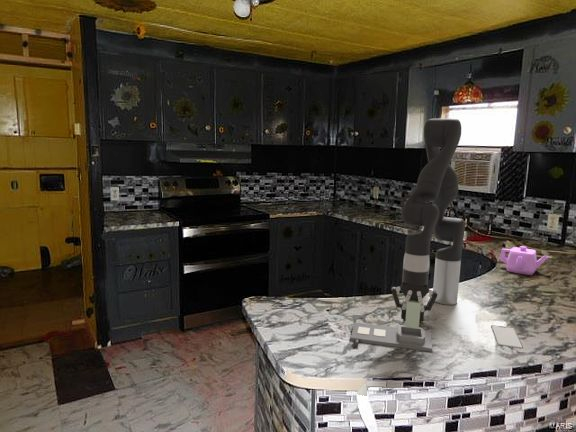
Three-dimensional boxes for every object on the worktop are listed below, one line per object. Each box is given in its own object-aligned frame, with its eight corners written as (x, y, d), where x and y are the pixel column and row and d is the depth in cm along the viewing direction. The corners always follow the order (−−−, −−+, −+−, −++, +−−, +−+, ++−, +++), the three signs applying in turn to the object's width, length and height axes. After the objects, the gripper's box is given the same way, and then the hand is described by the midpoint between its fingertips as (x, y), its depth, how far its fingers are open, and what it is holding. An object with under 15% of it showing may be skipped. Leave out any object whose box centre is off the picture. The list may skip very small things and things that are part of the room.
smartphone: (497, 344, 129) (490, 324, 143) (497, 346, 129) (490, 326, 144) (524, 348, 127) (514, 328, 141) (524, 350, 127) (514, 329, 141)
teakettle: (523, 265, 221) (526, 242, 219) (548, 275, 205) (551, 250, 203) (494, 266, 218) (496, 243, 216) (517, 276, 202) (520, 251, 200)
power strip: (354, 325, 141) (354, 317, 141) (429, 334, 135) (430, 326, 135) (349, 346, 126) (349, 337, 125) (433, 358, 120) (434, 348, 120)
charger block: (404, 321, 133) (406, 296, 131) (418, 323, 132) (420, 298, 130) (405, 326, 129) (407, 301, 127) (418, 328, 128) (420, 302, 126)
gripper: (439, 266, 129) (435, 319, 132) (392, 262, 133) (388, 314, 135) (442, 273, 122) (437, 329, 125) (391, 268, 125) (388, 323, 128)
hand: (411, 320), depth 130 cm, fingers closed on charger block, 4 cm apart
